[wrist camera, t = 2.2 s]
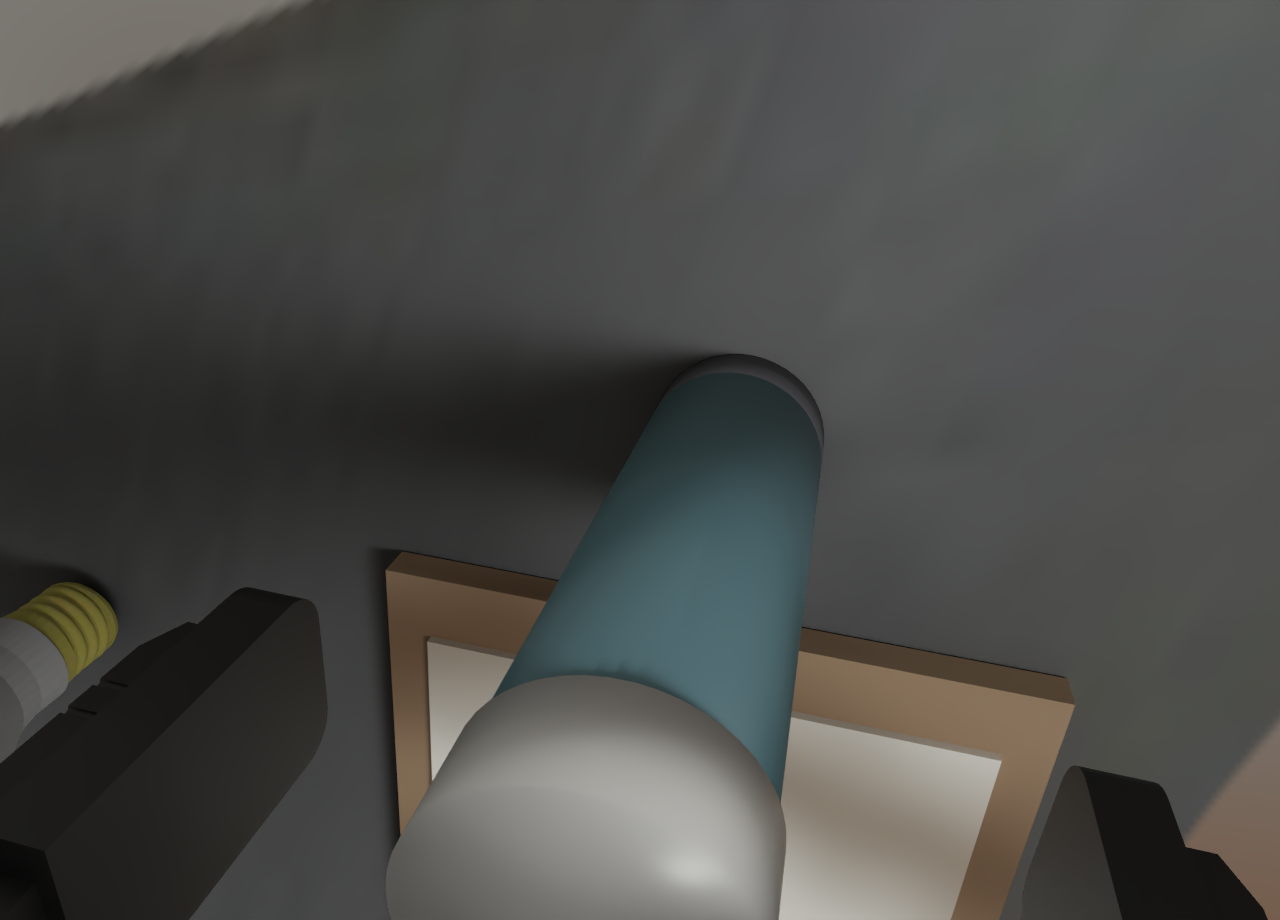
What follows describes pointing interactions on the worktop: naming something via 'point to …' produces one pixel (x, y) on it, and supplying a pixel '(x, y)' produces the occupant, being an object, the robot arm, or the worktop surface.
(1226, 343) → the worktop surface
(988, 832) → the clipboard
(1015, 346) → the worktop surface
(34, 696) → the light bulb
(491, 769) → the bottle
